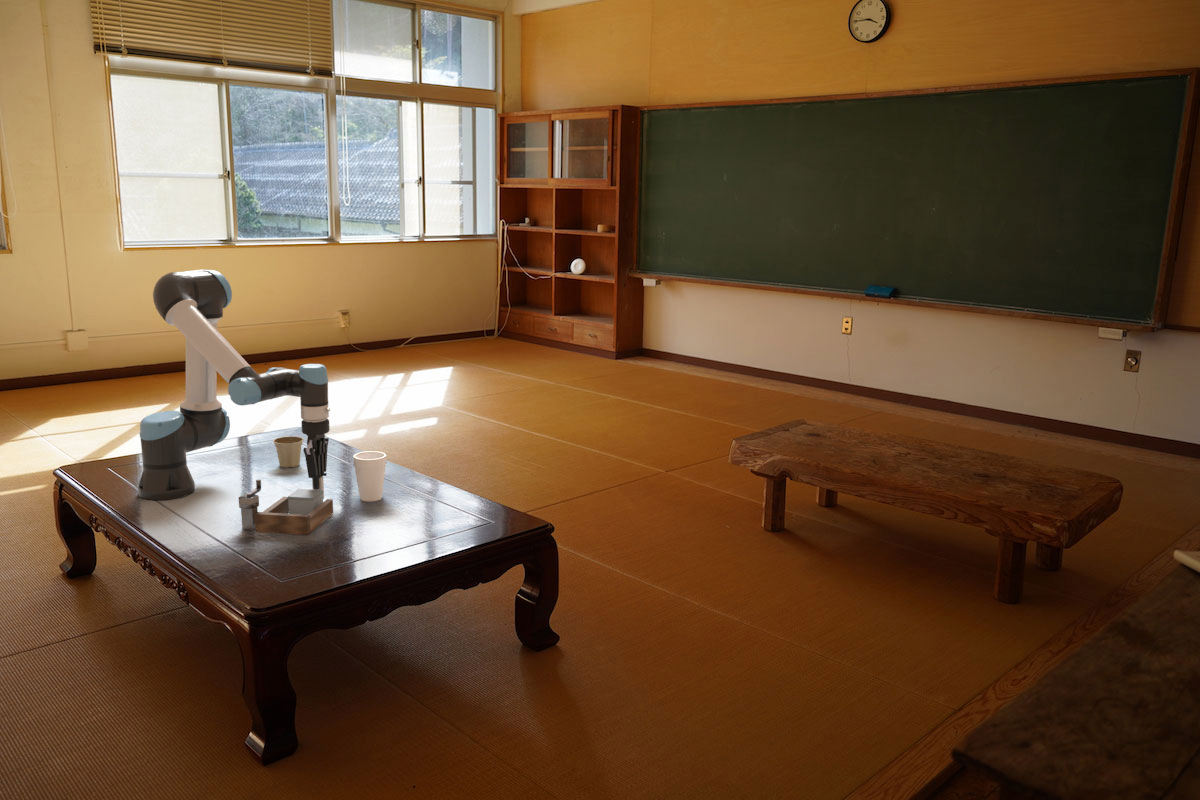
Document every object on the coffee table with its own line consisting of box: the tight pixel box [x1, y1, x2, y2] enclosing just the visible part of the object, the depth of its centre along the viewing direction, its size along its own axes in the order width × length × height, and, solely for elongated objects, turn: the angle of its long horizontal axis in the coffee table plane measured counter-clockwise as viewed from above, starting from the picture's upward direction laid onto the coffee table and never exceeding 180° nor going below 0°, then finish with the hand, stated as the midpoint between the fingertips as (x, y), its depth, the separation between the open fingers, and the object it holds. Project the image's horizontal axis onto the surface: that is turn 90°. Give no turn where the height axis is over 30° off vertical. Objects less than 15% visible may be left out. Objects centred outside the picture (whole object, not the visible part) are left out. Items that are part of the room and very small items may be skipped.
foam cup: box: [352, 450, 387, 502], centre depth 270 cm, size 10×9×13 cm
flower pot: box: [272, 435, 304, 469], centre depth 301 cm, size 9×9×9 cm
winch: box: [238, 479, 262, 531], centre depth 246 cm, size 5×9×11 cm, turn 175°
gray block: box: [287, 488, 324, 515], centre depth 256 cm, size 7×7×6 cm
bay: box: [254, 496, 334, 536], centre depth 249 cm, size 14×18×5 cm
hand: (318, 498), depth 265 cm, fingers closed
